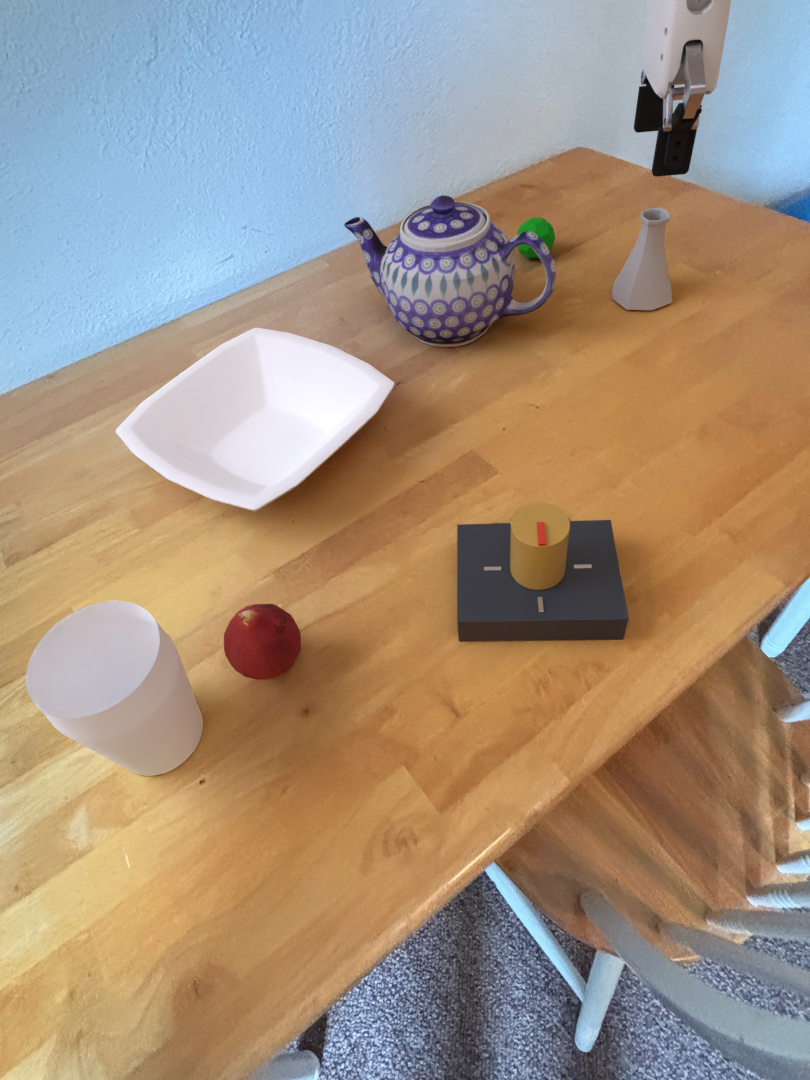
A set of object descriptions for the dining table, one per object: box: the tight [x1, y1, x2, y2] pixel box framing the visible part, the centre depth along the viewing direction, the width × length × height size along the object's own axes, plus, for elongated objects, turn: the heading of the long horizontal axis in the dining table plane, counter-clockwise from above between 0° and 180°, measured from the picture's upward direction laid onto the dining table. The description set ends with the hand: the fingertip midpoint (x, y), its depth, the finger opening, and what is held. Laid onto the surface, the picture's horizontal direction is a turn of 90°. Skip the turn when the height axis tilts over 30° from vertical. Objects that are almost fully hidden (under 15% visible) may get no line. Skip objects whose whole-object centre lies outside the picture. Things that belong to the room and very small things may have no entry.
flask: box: [611, 207, 673, 311], centre depth 81 cm, size 7×7×10 cm
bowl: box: [115, 327, 395, 512], centre depth 73 cm, size 22×23×6 cm
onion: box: [223, 603, 302, 681], centre depth 55 cm, size 6×6×8 cm
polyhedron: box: [515, 217, 556, 260], centre depth 92 cm, size 5×5×5 cm
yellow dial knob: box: [510, 502, 571, 590], centre depth 55 cm, size 4×4×6 cm
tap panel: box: [456, 519, 630, 643], centre depth 59 cm, size 13×10×3 cm
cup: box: [25, 599, 204, 777], centre depth 50 cm, size 9×9×12 cm
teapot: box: [343, 195, 557, 348], centre depth 80 cm, size 25×15×15 cm, turn 63°
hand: (659, 151), depth 68 cm, fingers open, 9 cm apart
